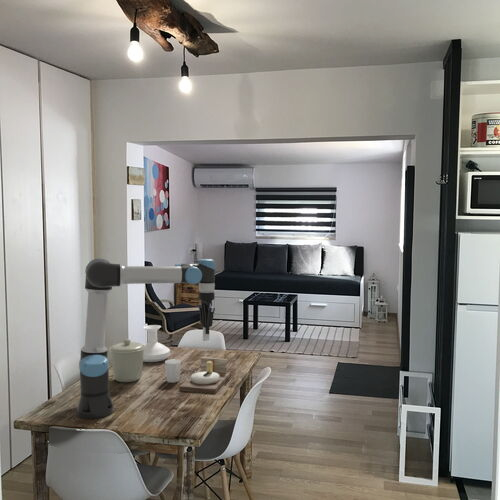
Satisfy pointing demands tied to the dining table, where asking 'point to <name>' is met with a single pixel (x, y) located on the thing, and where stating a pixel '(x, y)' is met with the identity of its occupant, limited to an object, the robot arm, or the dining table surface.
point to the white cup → (173, 370)
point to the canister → (127, 360)
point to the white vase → (154, 346)
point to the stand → (218, 367)
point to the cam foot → (205, 376)
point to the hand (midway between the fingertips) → (206, 340)
